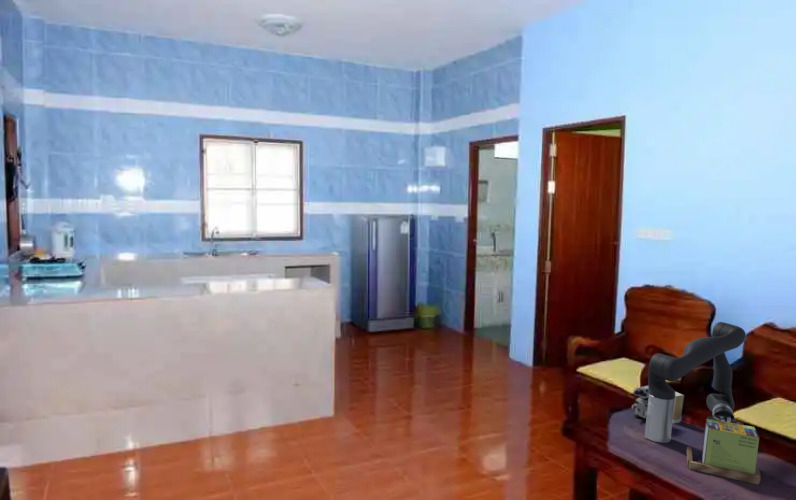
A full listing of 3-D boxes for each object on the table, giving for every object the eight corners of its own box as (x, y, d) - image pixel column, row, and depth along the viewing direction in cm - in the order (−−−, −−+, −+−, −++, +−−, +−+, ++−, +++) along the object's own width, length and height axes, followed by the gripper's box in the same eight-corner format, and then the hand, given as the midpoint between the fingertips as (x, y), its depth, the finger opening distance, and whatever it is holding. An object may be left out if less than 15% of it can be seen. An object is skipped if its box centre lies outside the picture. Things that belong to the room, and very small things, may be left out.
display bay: (687, 468, 202) (688, 461, 201) (686, 453, 214) (687, 446, 214) (760, 485, 192) (761, 477, 192) (755, 467, 205) (755, 461, 205)
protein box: (754, 481, 195) (760, 437, 193) (703, 470, 201) (708, 428, 199) (749, 468, 204) (754, 426, 203) (700, 458, 210) (705, 417, 209)
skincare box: (661, 418, 248) (664, 390, 247) (668, 417, 250) (671, 389, 249) (674, 423, 242) (677, 395, 241) (681, 422, 244) (684, 394, 243)
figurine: (624, 418, 245) (627, 384, 244) (643, 415, 250) (647, 382, 249) (641, 427, 237) (645, 391, 235) (661, 423, 242) (664, 389, 240)
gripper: (705, 403, 238) (708, 417, 223) (742, 409, 233) (747, 424, 217) (704, 420, 239) (706, 435, 223) (740, 427, 233) (745, 443, 218)
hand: (726, 430), depth 220 cm, fingers closed
